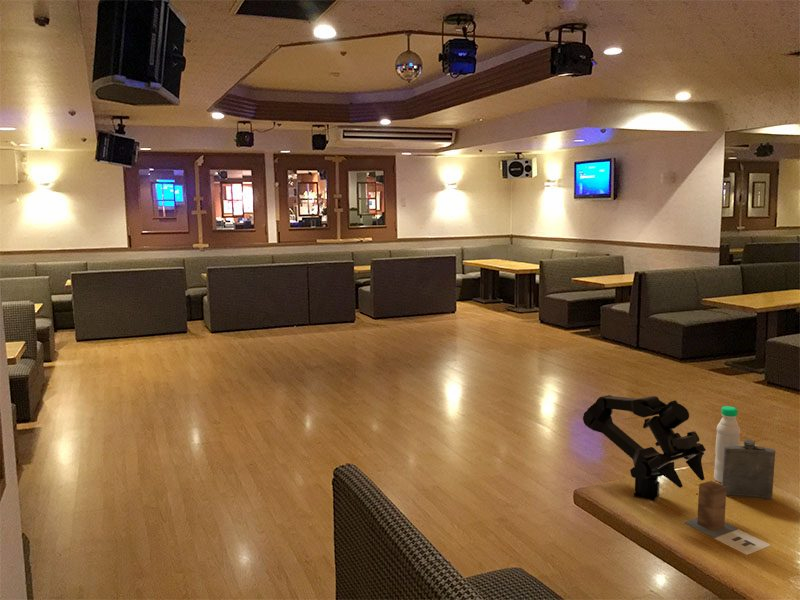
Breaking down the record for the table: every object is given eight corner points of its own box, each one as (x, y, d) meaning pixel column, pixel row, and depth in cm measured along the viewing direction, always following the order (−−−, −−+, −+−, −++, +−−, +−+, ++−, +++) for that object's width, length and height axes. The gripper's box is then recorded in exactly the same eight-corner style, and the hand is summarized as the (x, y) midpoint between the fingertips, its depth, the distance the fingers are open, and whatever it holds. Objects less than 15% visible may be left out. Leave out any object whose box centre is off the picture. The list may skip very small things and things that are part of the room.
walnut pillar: (697, 523, 191) (699, 484, 189) (709, 519, 193) (711, 480, 191) (712, 531, 186) (714, 490, 184) (724, 526, 188) (726, 487, 187)
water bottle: (740, 479, 220) (744, 407, 216) (733, 486, 215) (737, 412, 211) (717, 474, 225) (721, 403, 221) (710, 480, 220) (714, 408, 216)
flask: (720, 491, 212) (723, 437, 209) (769, 495, 208) (773, 440, 206) (722, 496, 209) (725, 441, 206) (773, 500, 205) (777, 444, 202)
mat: (683, 524, 192) (683, 522, 192) (707, 515, 196) (707, 513, 196) (714, 539, 183) (714, 537, 183) (738, 530, 187) (738, 528, 187)
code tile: (713, 539, 183) (713, 537, 183) (737, 530, 188) (737, 528, 187) (746, 556, 174) (746, 554, 174) (771, 546, 179) (771, 544, 179)
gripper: (658, 429, 191) (688, 480, 184) (703, 417, 200) (732, 466, 192) (636, 445, 200) (663, 494, 192) (679, 433, 208) (707, 480, 201)
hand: (692, 483), depth 194 cm, fingers open, 9 cm apart
